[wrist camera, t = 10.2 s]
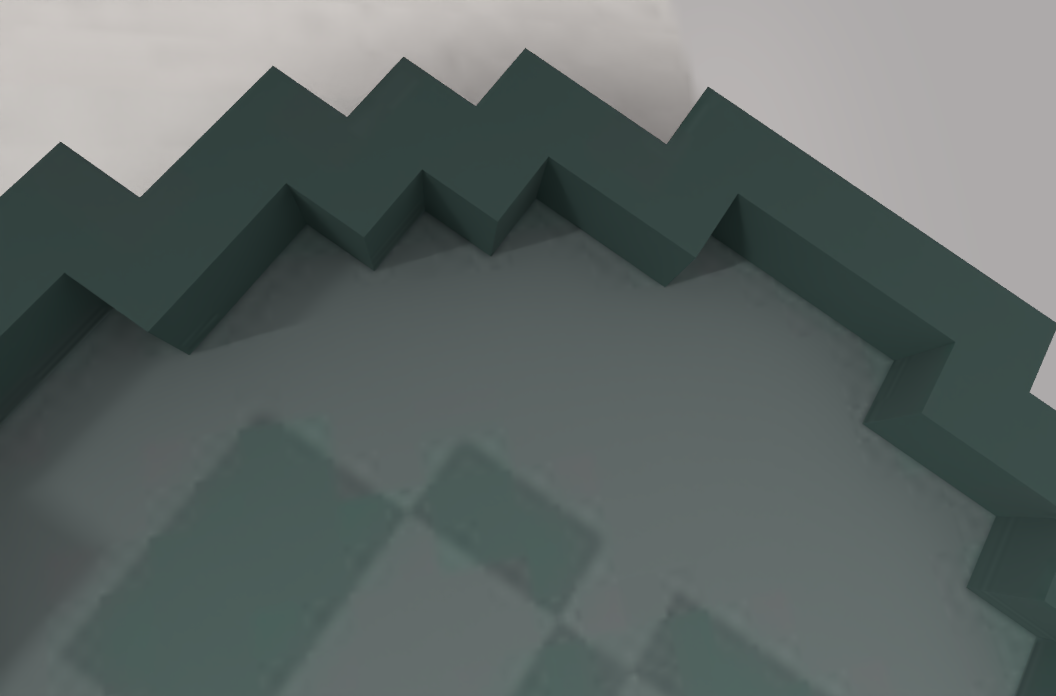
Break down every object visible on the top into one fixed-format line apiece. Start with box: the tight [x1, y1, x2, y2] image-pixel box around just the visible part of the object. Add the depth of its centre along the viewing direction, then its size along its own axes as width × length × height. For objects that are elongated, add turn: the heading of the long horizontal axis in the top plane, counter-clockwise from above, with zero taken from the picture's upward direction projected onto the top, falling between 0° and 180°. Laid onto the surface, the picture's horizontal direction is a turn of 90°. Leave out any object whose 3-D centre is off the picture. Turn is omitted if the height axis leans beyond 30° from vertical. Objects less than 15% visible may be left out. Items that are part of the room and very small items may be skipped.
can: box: [0, 48, 1056, 696], centre depth 9 cm, size 6×6×15 cm
